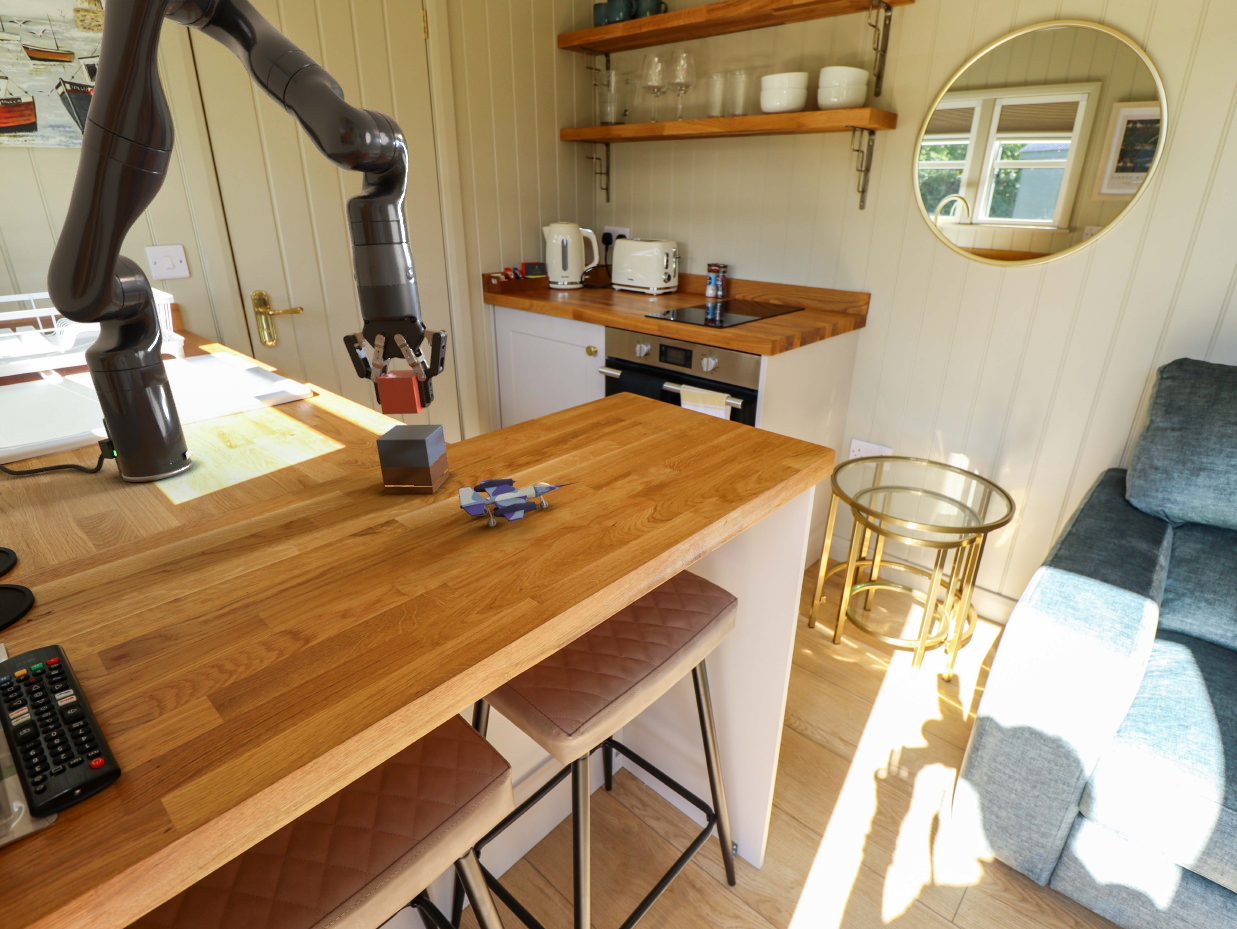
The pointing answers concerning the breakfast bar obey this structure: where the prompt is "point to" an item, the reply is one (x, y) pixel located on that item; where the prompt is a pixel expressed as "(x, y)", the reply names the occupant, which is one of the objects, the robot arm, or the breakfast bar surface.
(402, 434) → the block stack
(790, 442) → the breakfast bar surface
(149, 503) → the breakfast bar surface
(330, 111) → the robot arm
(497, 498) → the toy airplane
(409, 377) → the toy block
